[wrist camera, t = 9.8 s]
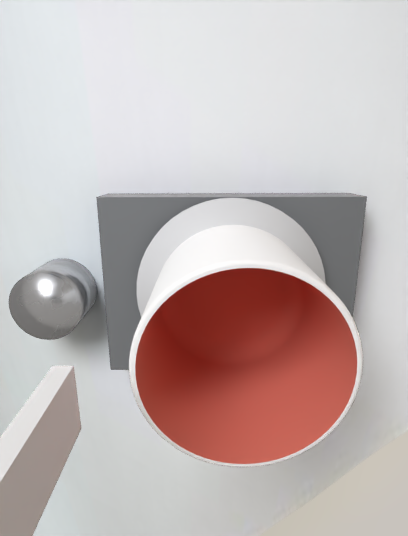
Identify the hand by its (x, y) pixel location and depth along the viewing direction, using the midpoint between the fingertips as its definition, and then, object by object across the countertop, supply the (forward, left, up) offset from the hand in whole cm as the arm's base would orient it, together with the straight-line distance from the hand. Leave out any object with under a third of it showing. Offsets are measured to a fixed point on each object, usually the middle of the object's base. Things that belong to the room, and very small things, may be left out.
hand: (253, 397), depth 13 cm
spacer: (+1, -13, -16) cm, 21 cm away
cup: (0, 0, -12) cm, 12 cm away
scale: (0, 0, -16) cm, 16 cm away
